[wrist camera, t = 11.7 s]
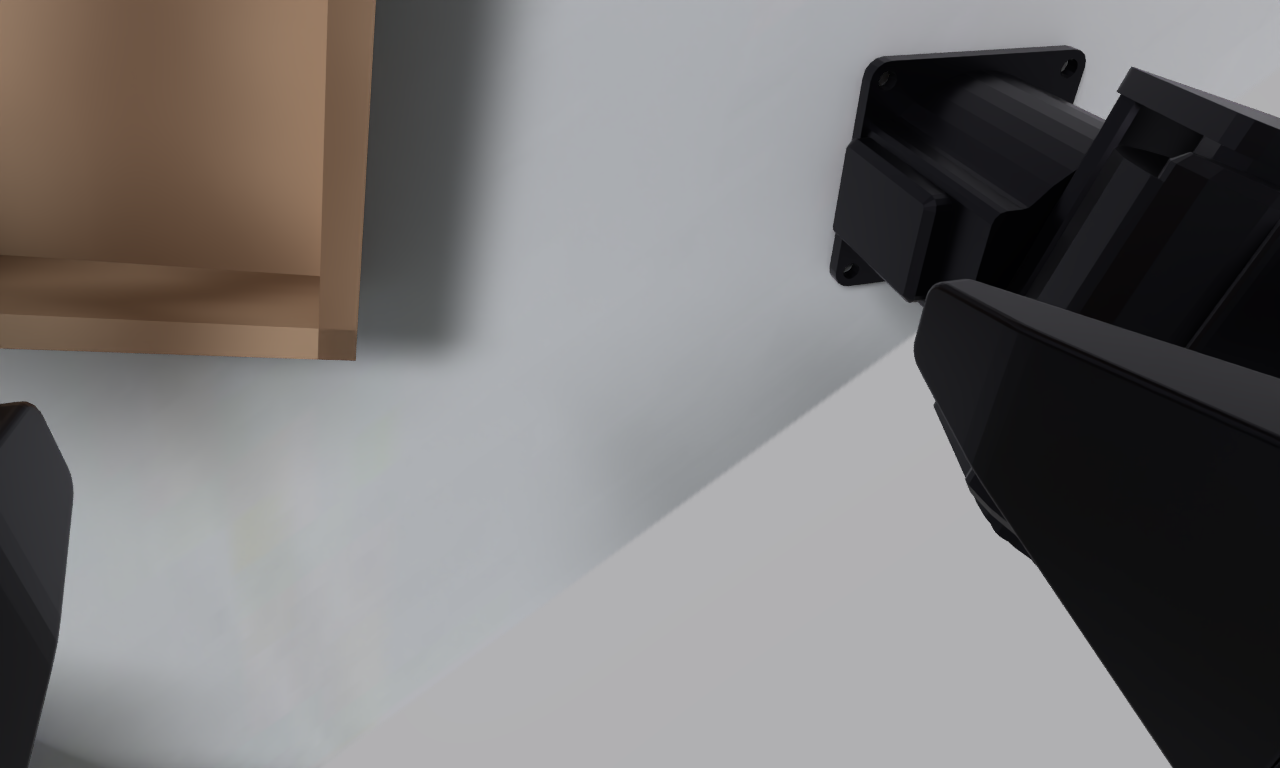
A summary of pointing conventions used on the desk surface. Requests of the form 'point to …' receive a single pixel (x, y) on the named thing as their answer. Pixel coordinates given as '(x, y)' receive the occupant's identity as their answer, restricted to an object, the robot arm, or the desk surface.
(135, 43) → the brown shallow tray
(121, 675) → the desk surface
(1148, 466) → the robot arm
